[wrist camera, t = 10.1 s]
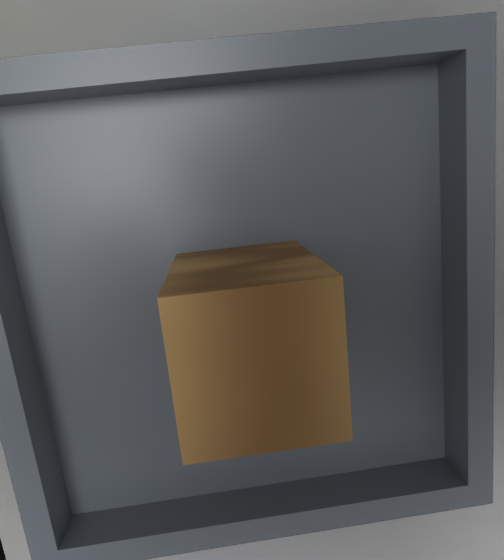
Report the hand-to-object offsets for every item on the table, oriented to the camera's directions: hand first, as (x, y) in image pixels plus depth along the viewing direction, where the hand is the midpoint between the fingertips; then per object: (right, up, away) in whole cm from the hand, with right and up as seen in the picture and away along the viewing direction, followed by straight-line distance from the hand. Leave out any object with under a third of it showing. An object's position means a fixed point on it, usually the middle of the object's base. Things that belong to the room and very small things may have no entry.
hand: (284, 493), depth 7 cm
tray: (-1, +3, +11) cm, 12 cm away
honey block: (-1, +2, +11) cm, 11 cm away
